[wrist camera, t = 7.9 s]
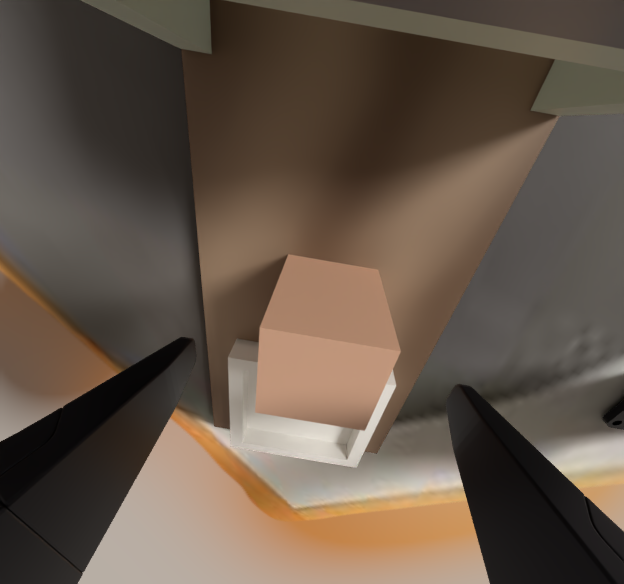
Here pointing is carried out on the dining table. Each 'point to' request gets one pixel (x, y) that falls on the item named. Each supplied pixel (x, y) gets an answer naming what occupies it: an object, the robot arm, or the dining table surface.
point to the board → (350, 168)
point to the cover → (448, 35)
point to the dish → (285, 431)
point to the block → (325, 344)
